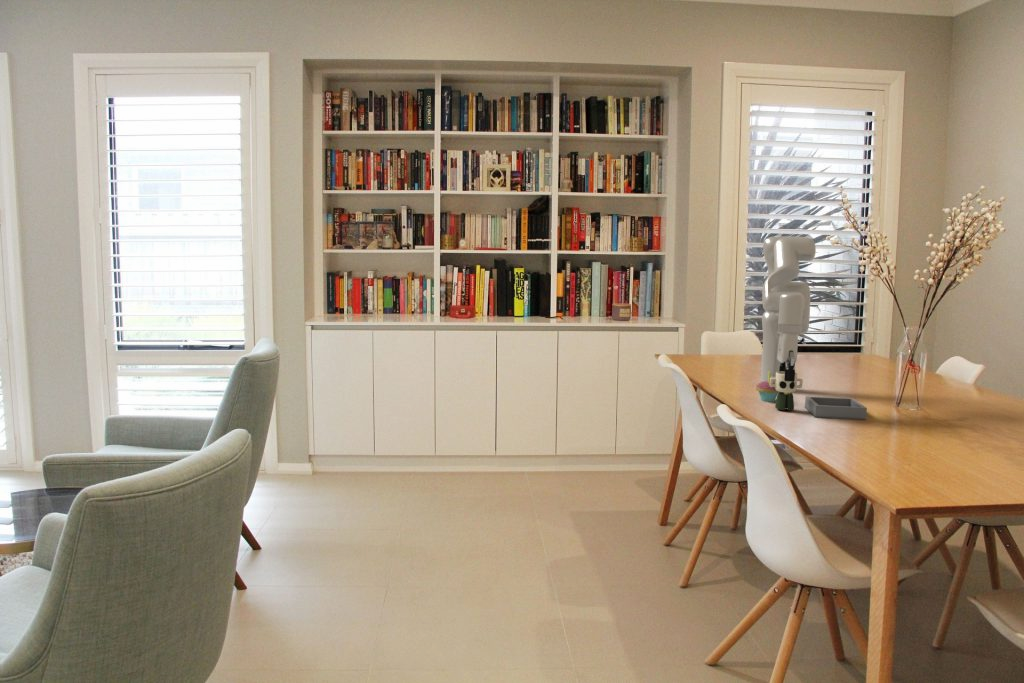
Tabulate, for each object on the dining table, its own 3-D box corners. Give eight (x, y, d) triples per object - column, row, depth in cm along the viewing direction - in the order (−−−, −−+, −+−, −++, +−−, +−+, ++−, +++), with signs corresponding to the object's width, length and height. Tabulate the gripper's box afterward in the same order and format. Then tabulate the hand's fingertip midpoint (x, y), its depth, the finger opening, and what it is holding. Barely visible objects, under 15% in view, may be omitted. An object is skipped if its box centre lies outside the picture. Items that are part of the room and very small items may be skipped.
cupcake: (781, 403, 281) (783, 370, 280) (756, 402, 283) (758, 369, 282) (778, 398, 290) (780, 366, 288) (754, 397, 291) (756, 365, 290)
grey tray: (804, 407, 275) (805, 396, 274) (852, 409, 273) (853, 398, 272) (815, 417, 259) (815, 405, 259) (865, 419, 257) (866, 408, 256)
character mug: (769, 411, 268) (772, 374, 266) (766, 407, 275) (768, 370, 273) (803, 413, 266) (805, 375, 264) (798, 408, 273) (800, 372, 271)
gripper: (773, 327, 276) (770, 375, 277) (782, 331, 259) (779, 382, 260) (795, 327, 274) (792, 376, 276) (806, 332, 257) (803, 383, 259)
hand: (786, 379), depth 268 cm, fingers open, 9 cm apart
